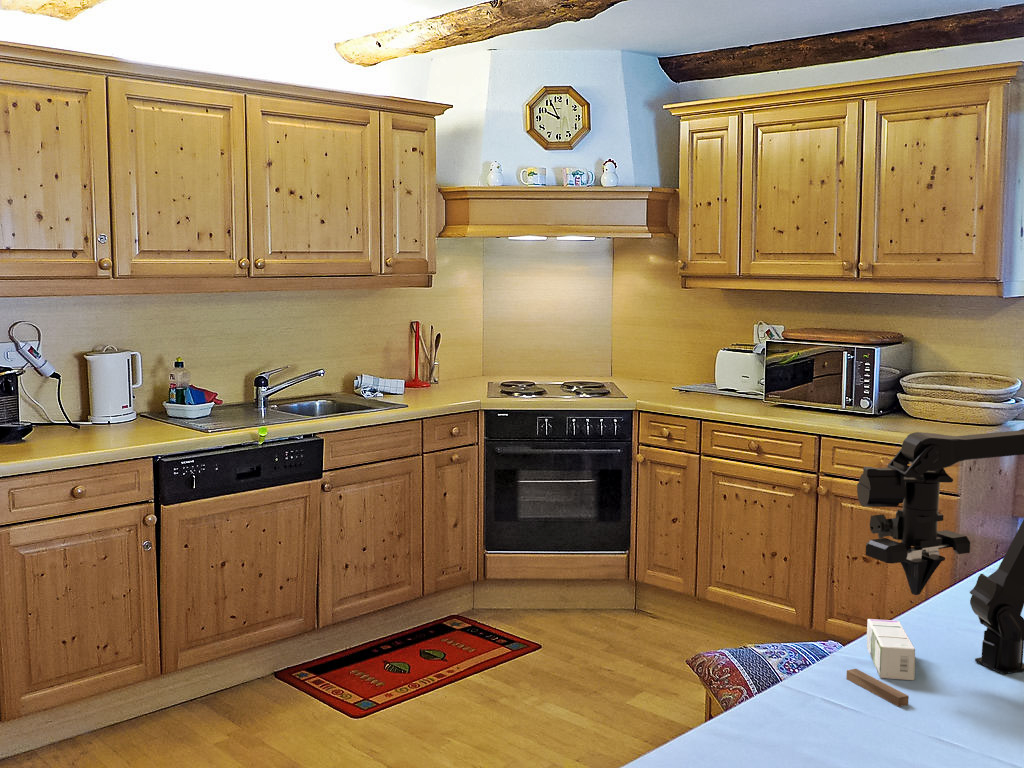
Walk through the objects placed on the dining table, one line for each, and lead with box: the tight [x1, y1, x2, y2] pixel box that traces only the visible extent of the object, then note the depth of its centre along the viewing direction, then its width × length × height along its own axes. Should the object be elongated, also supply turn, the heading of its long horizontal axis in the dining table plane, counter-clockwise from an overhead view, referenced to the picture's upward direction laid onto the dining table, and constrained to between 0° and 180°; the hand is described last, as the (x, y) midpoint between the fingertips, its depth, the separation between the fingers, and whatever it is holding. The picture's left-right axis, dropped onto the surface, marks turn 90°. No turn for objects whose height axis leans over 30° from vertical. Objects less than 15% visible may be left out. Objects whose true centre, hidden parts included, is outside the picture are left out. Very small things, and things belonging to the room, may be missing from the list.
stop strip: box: [845, 668, 910, 708], centre depth 171 cm, size 2×12×2 cm, turn 23°
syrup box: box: [866, 618, 916, 681], centre depth 182 cm, size 6×6×14 cm
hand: (915, 594), depth 180 cm, fingers closed
